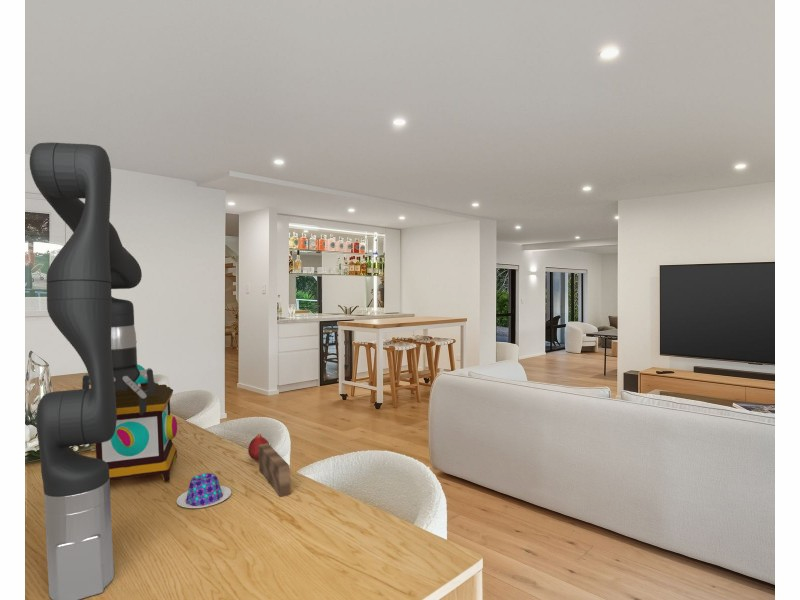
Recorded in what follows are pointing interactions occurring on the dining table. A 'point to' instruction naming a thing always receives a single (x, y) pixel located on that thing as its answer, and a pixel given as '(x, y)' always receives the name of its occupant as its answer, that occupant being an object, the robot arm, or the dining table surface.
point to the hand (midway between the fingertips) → (120, 417)
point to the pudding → (203, 492)
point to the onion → (256, 446)
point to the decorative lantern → (141, 435)
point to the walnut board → (274, 469)
